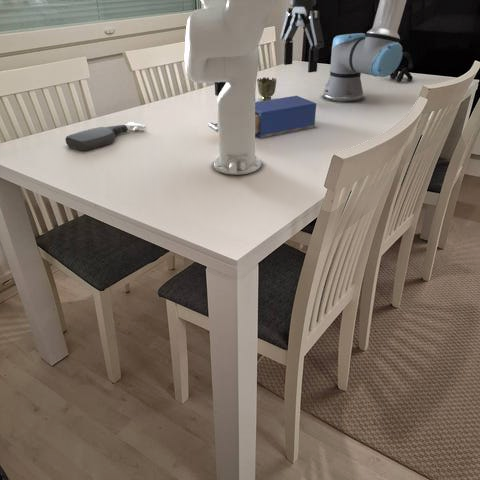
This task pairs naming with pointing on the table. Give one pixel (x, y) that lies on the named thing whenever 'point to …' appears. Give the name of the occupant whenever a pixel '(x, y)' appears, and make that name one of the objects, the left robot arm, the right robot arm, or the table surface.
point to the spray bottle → (99, 136)
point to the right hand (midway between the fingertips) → (299, 68)
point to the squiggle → (403, 68)
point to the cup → (266, 87)
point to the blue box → (285, 115)
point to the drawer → (257, 124)
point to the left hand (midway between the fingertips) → (221, 95)
